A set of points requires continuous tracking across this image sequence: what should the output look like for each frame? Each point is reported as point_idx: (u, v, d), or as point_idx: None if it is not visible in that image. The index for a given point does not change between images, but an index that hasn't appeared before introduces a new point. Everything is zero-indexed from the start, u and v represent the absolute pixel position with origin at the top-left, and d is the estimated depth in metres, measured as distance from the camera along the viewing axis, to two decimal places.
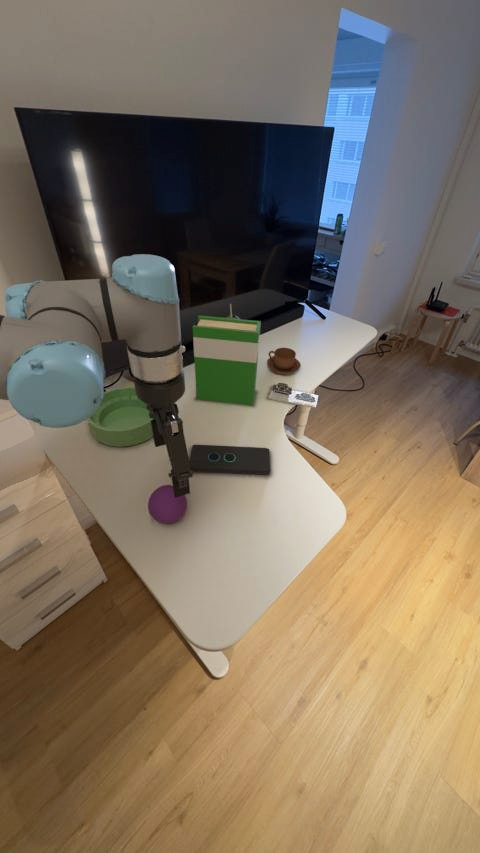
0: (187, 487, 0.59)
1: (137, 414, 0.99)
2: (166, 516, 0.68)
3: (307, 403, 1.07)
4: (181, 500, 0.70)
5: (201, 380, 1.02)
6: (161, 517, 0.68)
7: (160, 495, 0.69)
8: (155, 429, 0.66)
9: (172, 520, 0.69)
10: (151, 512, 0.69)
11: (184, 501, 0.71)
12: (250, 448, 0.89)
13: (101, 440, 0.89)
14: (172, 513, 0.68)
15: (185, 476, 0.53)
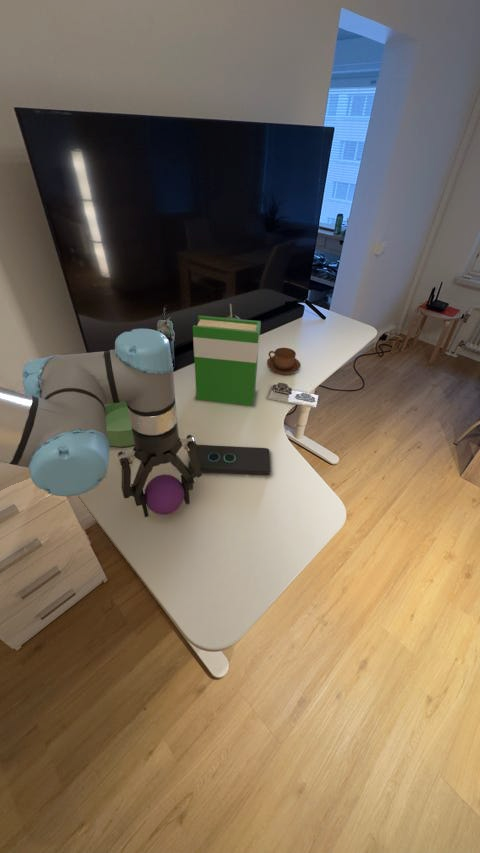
0: None
1: None
2: (163, 506, 0.66)
3: (307, 403, 1.07)
4: (178, 490, 0.68)
5: (201, 380, 1.02)
6: (157, 507, 0.66)
7: (157, 484, 0.66)
8: (145, 500, 0.67)
9: (169, 510, 0.67)
10: (147, 502, 0.67)
11: (182, 491, 0.68)
12: (250, 448, 0.89)
13: None
14: (169, 502, 0.66)
15: None
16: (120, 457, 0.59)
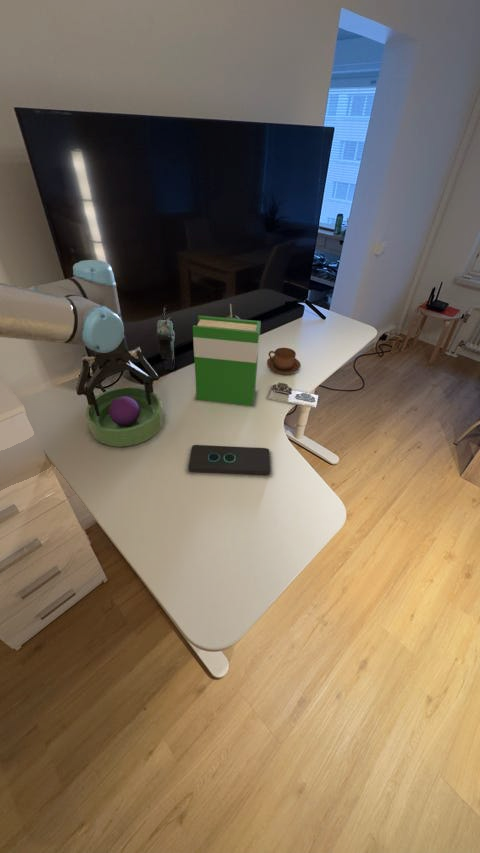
0: None
1: None
2: (121, 416, 0.90)
3: (307, 403, 1.07)
4: (133, 406, 0.91)
5: (201, 380, 1.02)
6: (117, 418, 0.90)
7: (116, 401, 0.90)
8: (95, 400, 0.87)
9: (127, 421, 0.91)
10: (110, 415, 0.91)
11: (136, 407, 0.92)
12: (250, 448, 0.89)
13: (101, 440, 0.89)
14: (125, 414, 0.90)
15: (157, 375, 0.91)
16: (83, 358, 0.80)
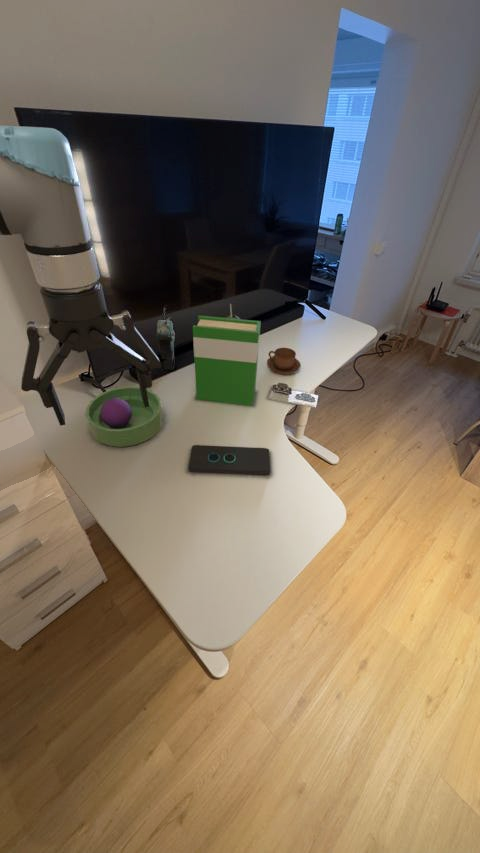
0: None
1: (137, 414, 0.99)
2: (111, 421, 0.90)
3: (307, 403, 1.07)
4: (117, 406, 0.90)
5: (201, 380, 1.02)
6: (110, 423, 0.90)
7: (102, 408, 0.90)
8: (56, 399, 0.53)
9: (119, 422, 0.90)
10: (104, 422, 0.92)
11: (121, 406, 0.90)
12: (250, 448, 0.89)
13: (101, 440, 0.89)
14: (113, 417, 0.89)
15: None
16: (29, 325, 0.46)
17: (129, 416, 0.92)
